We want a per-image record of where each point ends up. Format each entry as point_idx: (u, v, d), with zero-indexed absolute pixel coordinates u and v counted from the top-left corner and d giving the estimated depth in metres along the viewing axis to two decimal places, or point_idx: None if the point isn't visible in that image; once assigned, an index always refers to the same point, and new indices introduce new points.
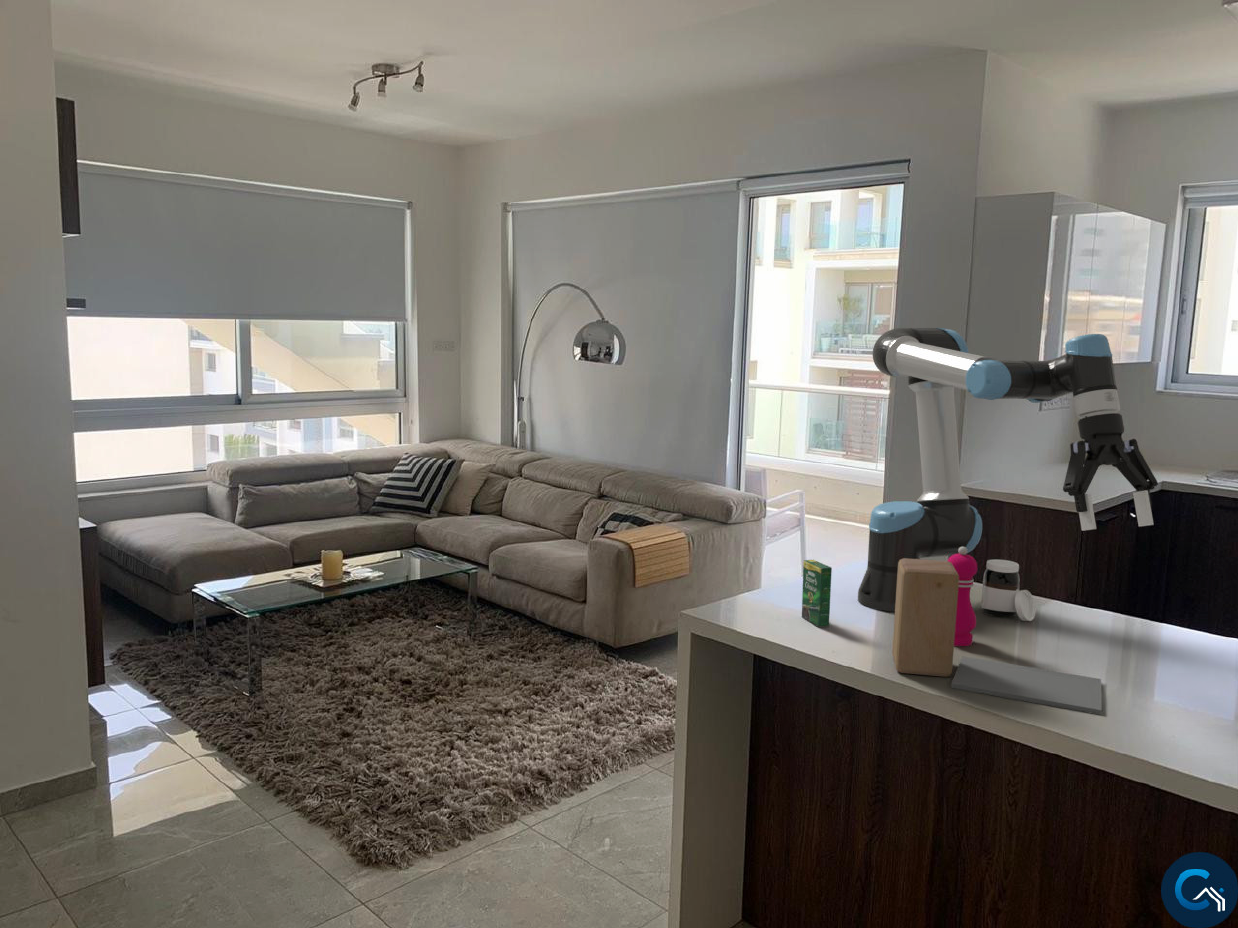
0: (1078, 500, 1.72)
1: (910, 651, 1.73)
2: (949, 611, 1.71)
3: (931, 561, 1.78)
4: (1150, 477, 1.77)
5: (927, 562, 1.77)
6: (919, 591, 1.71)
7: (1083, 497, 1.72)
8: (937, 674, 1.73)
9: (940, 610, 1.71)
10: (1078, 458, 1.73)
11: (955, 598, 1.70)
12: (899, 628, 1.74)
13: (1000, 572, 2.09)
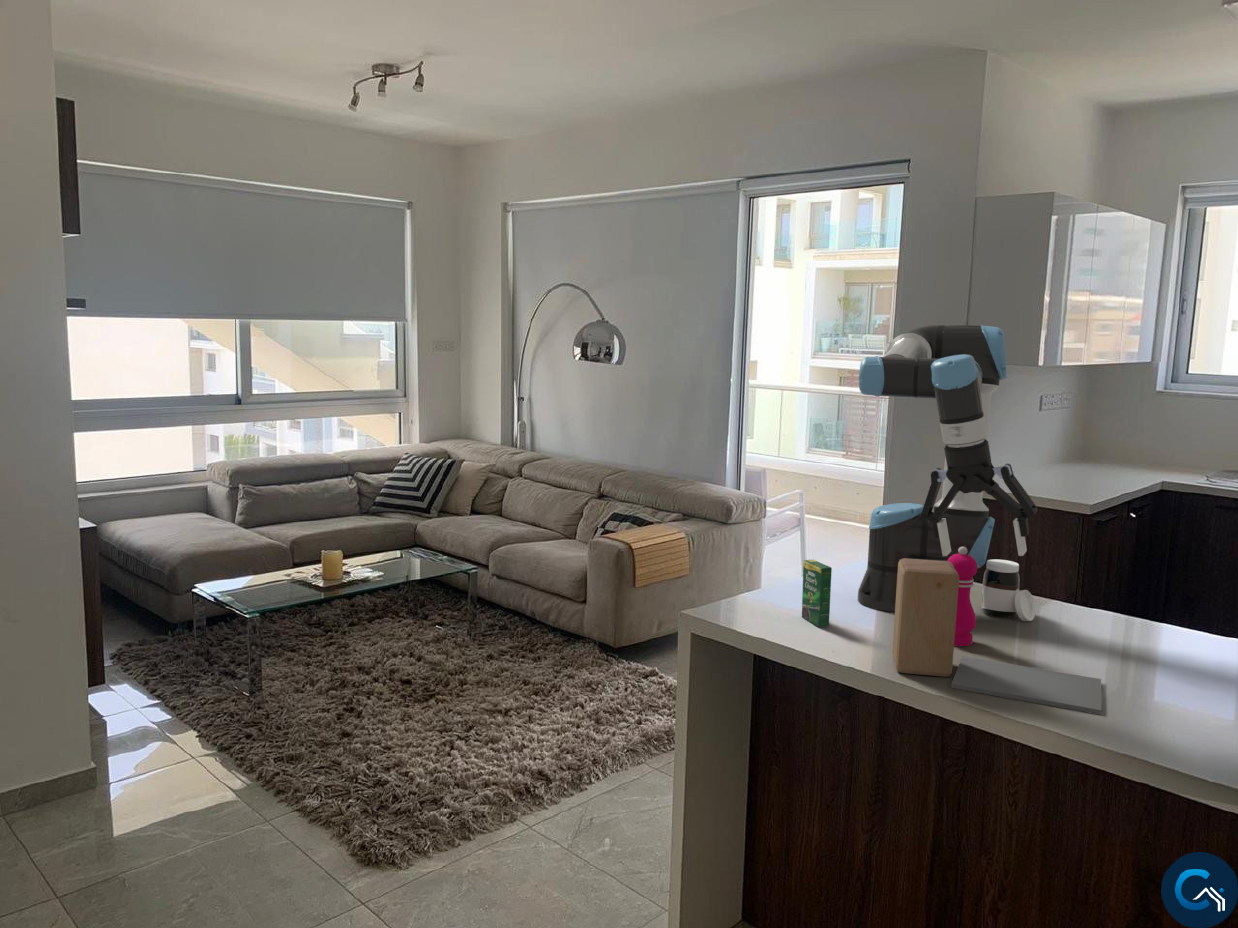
0: None
1: (910, 651, 1.73)
2: (949, 611, 1.71)
3: (931, 561, 1.78)
4: (1024, 507, 1.64)
5: (927, 562, 1.77)
6: (919, 591, 1.71)
7: (936, 525, 1.75)
8: (937, 674, 1.73)
9: (940, 610, 1.71)
10: None
11: (955, 598, 1.70)
12: (899, 628, 1.74)
13: (1000, 572, 2.09)
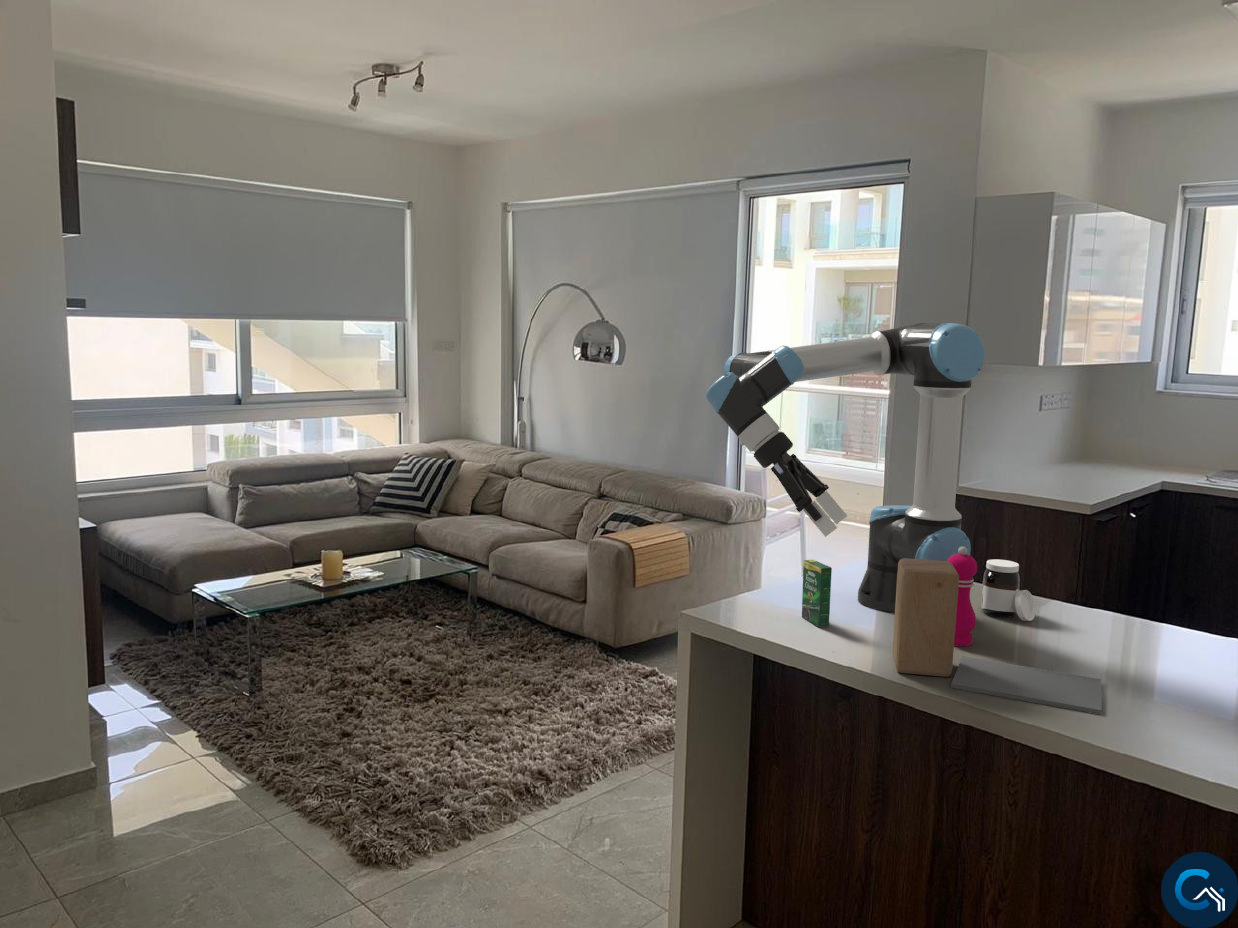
0: None
1: (910, 651, 1.73)
2: (949, 611, 1.71)
3: (931, 561, 1.78)
4: None
5: (927, 562, 1.77)
6: (919, 591, 1.71)
7: None
8: (937, 674, 1.73)
9: (940, 610, 1.71)
10: None
11: (955, 598, 1.70)
12: (899, 628, 1.74)
13: (1000, 572, 2.09)
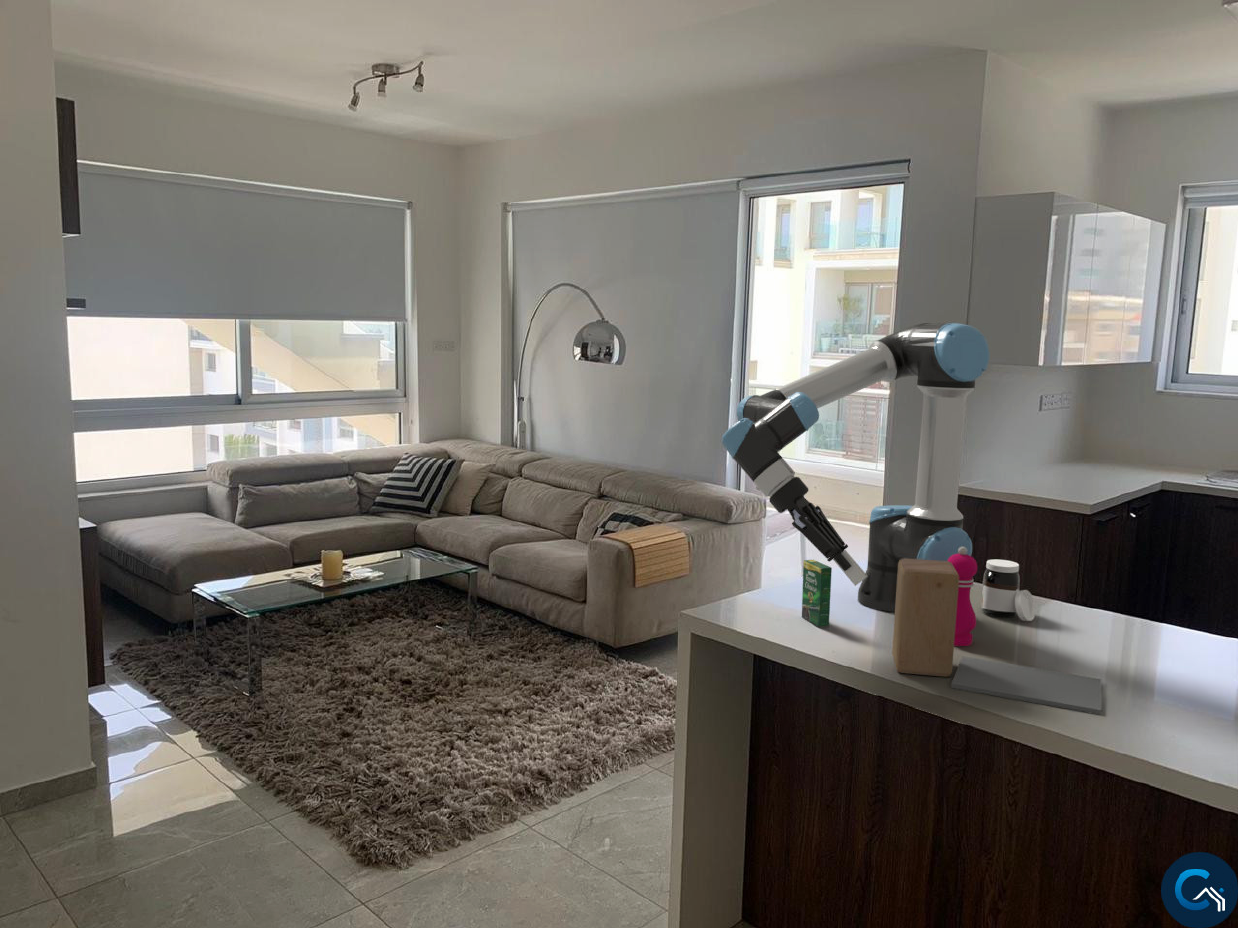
0: None
1: (910, 651, 1.73)
2: (949, 611, 1.71)
3: (931, 561, 1.78)
4: None
5: (927, 562, 1.77)
6: (919, 591, 1.71)
7: None
8: (937, 674, 1.73)
9: (940, 610, 1.71)
10: None
11: (955, 598, 1.70)
12: (899, 628, 1.74)
13: (1000, 572, 2.09)
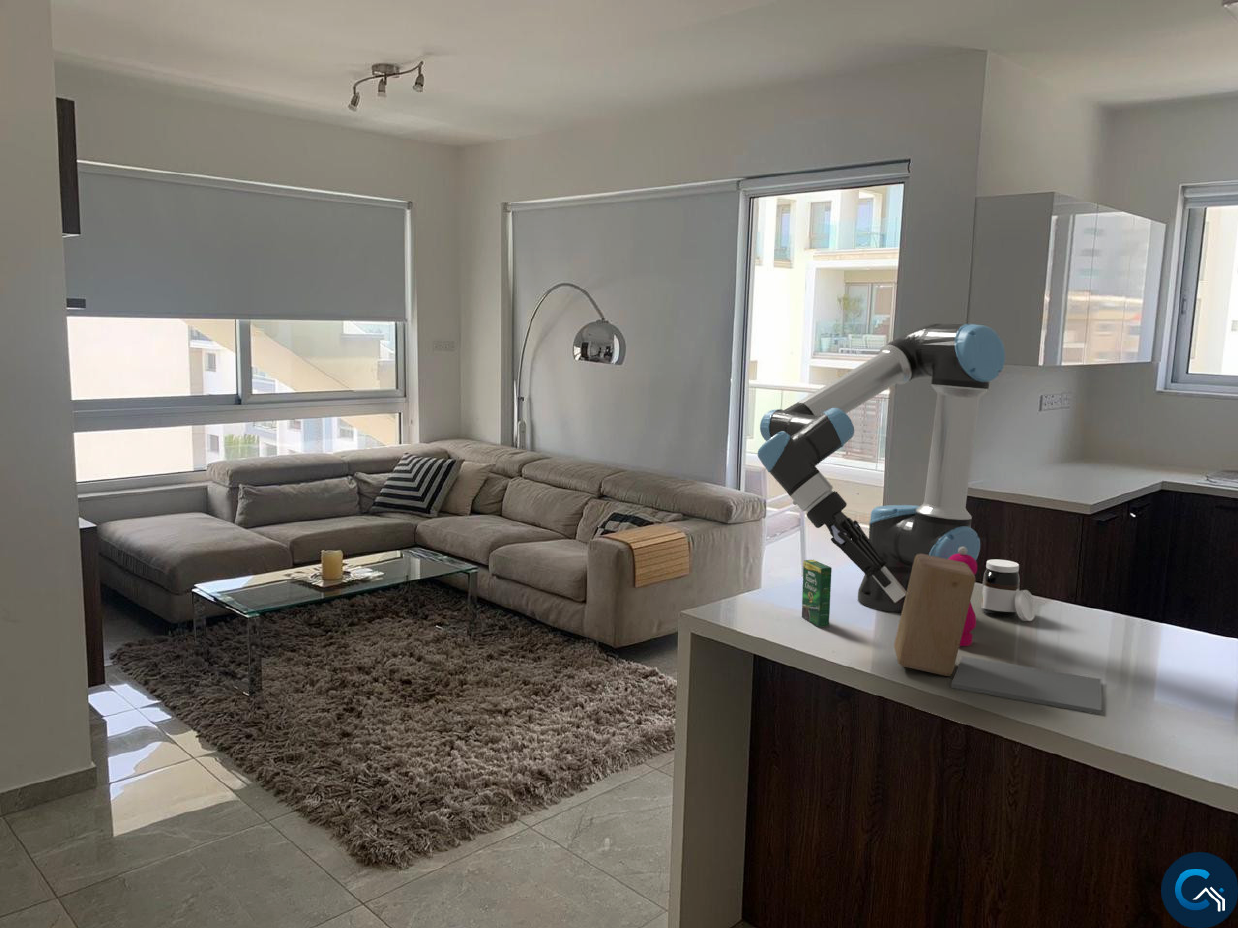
0: None
1: (915, 646, 1.73)
2: (960, 611, 1.70)
3: (948, 560, 1.77)
4: None
5: (944, 560, 1.76)
6: (934, 587, 1.71)
7: None
8: (938, 672, 1.73)
9: (952, 609, 1.70)
10: None
11: (968, 599, 1.70)
12: (907, 621, 1.73)
13: (1000, 572, 2.09)
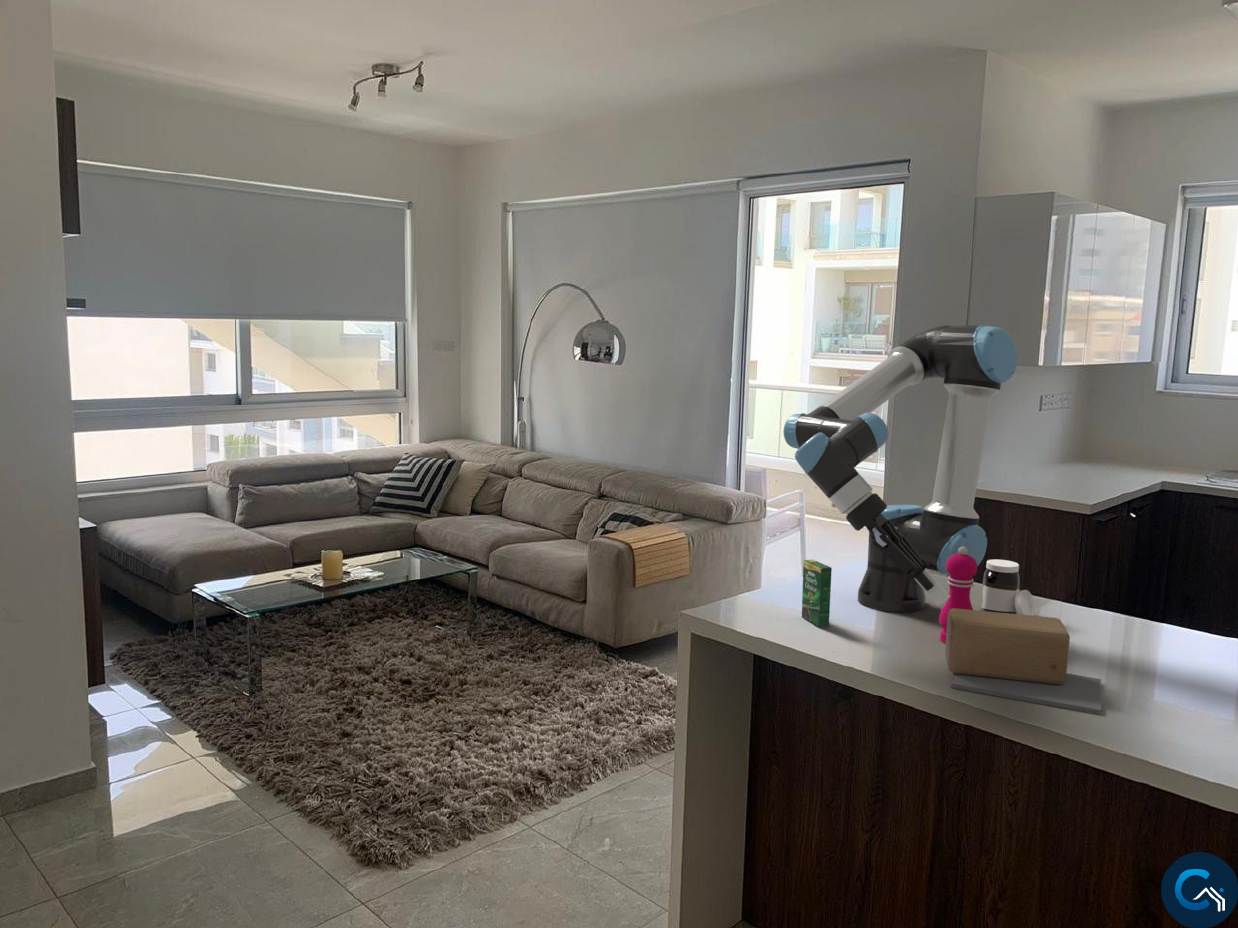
0: None
1: (978, 636, 1.70)
2: (1024, 674, 1.69)
3: None
4: None
5: None
6: (1046, 648, 1.67)
7: None
8: (952, 660, 1.72)
9: (1024, 667, 1.69)
10: None
11: (1037, 681, 1.69)
12: (1002, 626, 1.69)
13: (1000, 572, 2.09)
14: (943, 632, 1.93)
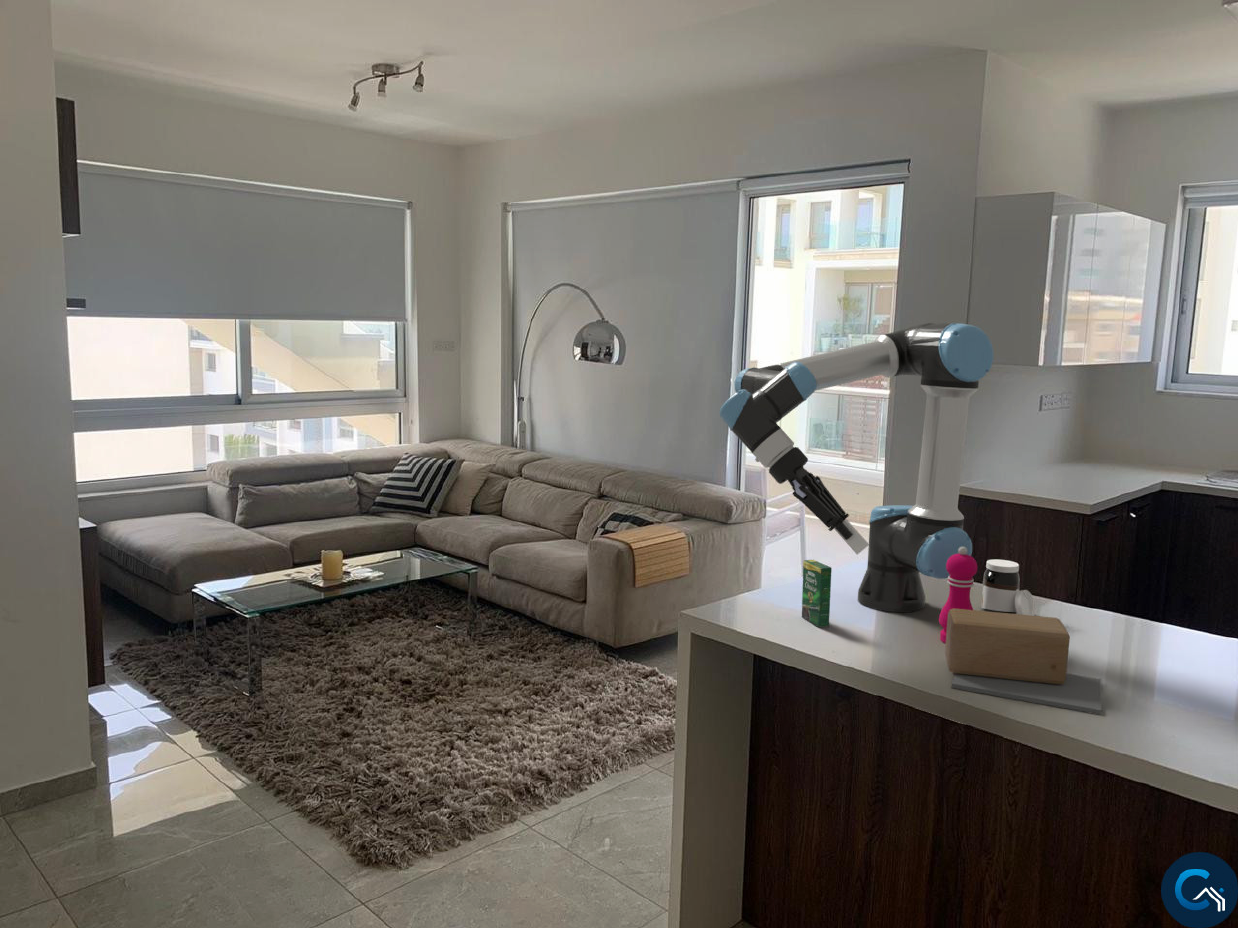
0: None
1: (978, 636, 1.70)
2: (1024, 674, 1.69)
3: None
4: None
5: None
6: (1046, 648, 1.67)
7: None
8: (952, 660, 1.72)
9: (1024, 667, 1.69)
10: None
11: (1037, 681, 1.69)
12: (1002, 626, 1.69)
13: (1000, 572, 2.09)
14: (943, 632, 1.93)
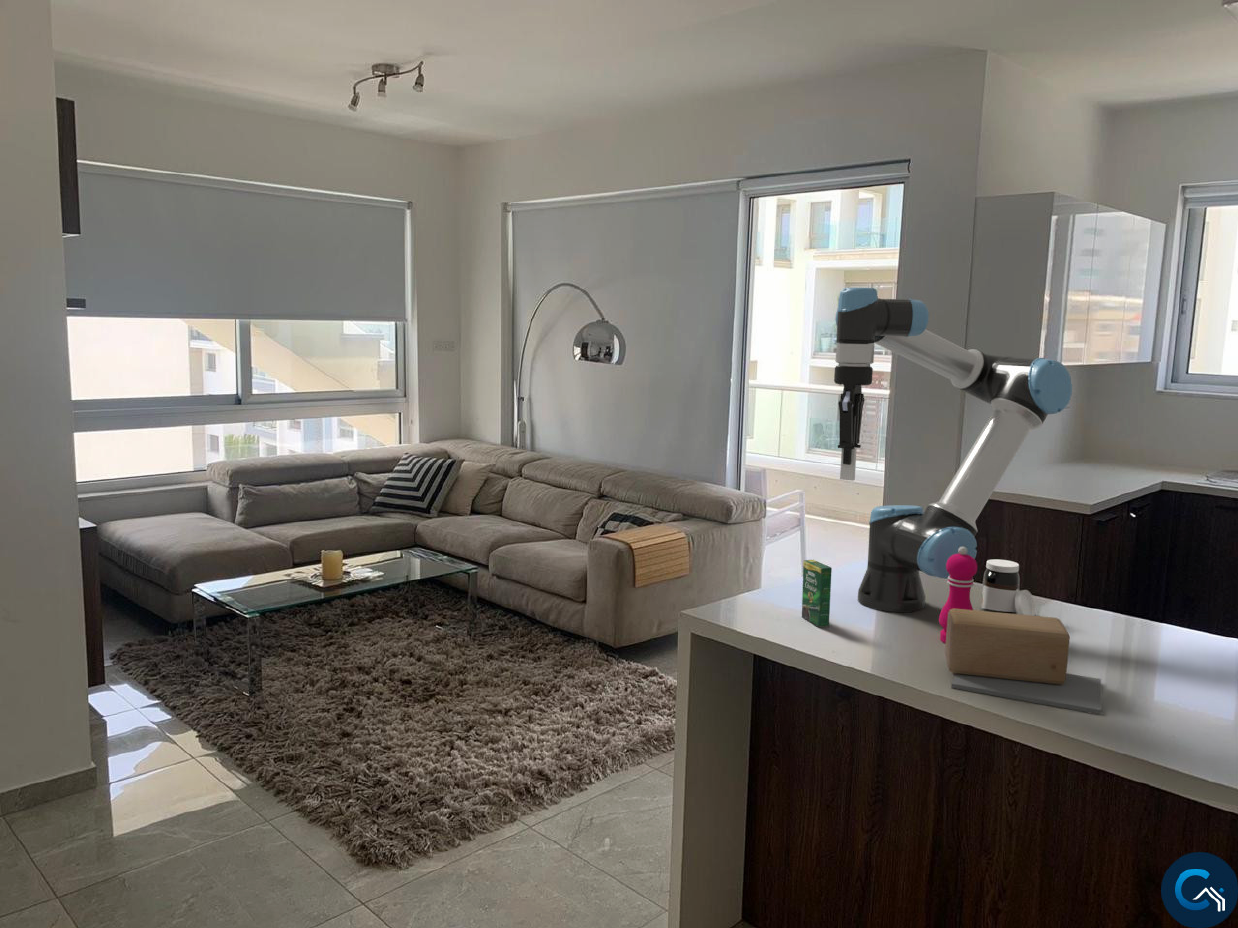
0: None
1: (978, 636, 1.70)
2: (1024, 674, 1.69)
3: None
4: None
5: None
6: (1046, 648, 1.67)
7: None
8: (952, 660, 1.72)
9: (1024, 667, 1.69)
10: None
11: (1037, 681, 1.69)
12: (1002, 626, 1.69)
13: (1000, 572, 2.09)
14: (943, 632, 1.93)
